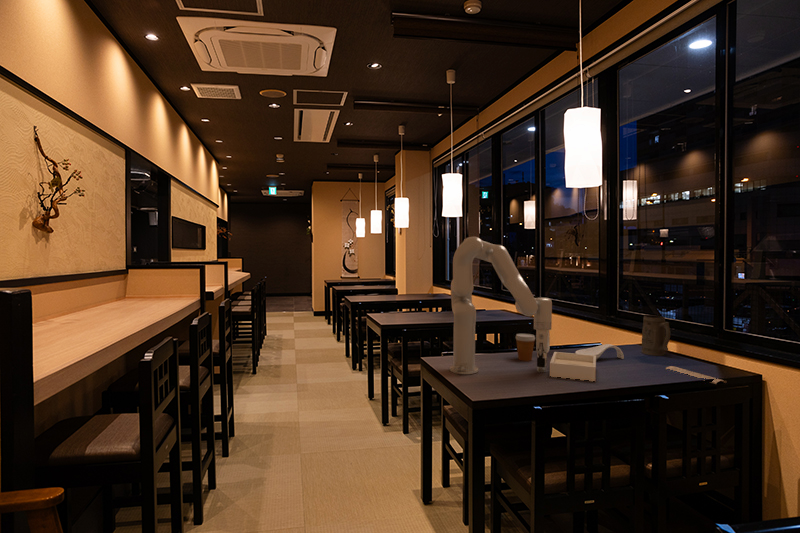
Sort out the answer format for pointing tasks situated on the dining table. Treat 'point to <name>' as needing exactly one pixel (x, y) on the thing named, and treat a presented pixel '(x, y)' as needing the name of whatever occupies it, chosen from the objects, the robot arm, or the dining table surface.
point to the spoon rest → (600, 351)
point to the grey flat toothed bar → (694, 374)
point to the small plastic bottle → (544, 369)
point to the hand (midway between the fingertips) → (542, 364)
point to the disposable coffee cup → (525, 346)
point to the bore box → (573, 366)
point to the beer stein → (655, 335)
